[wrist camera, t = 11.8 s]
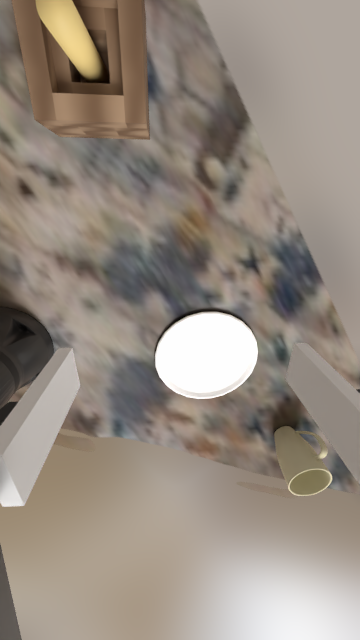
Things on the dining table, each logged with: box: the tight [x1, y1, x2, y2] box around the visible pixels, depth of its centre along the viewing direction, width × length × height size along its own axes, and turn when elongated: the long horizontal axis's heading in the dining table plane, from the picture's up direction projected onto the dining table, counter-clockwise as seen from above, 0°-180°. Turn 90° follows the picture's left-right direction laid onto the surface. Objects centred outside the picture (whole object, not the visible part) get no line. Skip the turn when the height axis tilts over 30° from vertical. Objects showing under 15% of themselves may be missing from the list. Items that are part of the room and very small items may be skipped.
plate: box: [155, 311, 258, 399], centre depth 49 cm, size 21×21×1 cm
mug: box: [274, 426, 332, 496], centre depth 54 cm, size 11×10×12 cm
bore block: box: [12, 0, 150, 140], centre depth 27 cm, size 12×12×7 cm
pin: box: [36, 0, 109, 84], centre depth 24 cm, size 3×3×12 cm
